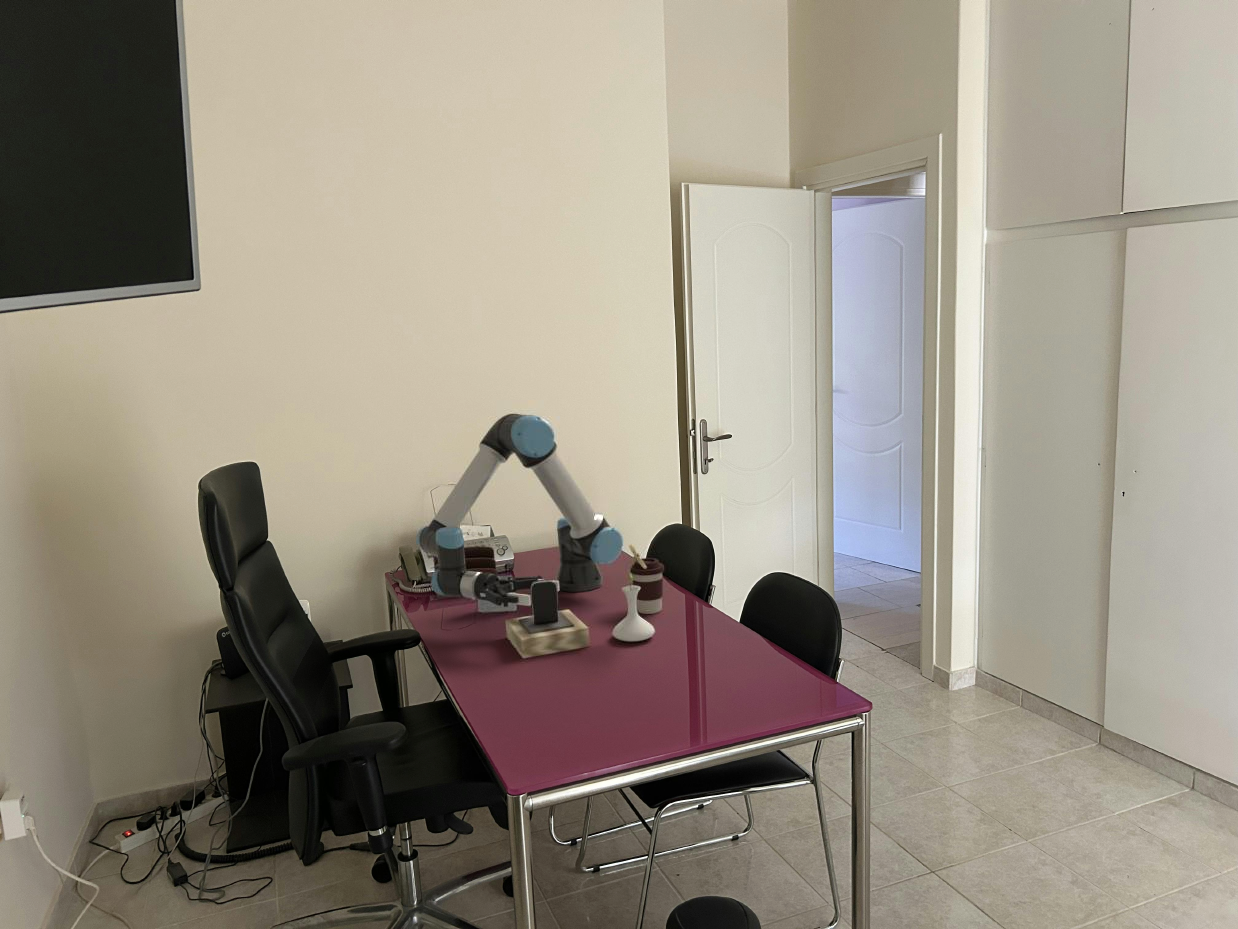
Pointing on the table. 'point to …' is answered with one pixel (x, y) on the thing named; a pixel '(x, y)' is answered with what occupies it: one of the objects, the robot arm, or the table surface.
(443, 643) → the table surface
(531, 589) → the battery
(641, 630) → the flower in vase
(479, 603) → the ink box
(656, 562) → the coffee cup
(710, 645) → the table surface
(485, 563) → the letter holder
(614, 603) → the table surface
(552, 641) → the stand
